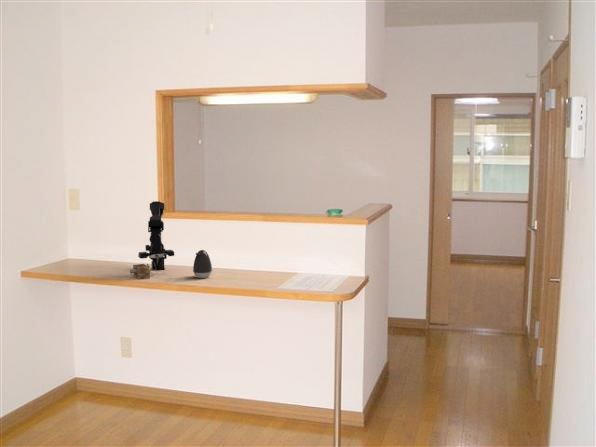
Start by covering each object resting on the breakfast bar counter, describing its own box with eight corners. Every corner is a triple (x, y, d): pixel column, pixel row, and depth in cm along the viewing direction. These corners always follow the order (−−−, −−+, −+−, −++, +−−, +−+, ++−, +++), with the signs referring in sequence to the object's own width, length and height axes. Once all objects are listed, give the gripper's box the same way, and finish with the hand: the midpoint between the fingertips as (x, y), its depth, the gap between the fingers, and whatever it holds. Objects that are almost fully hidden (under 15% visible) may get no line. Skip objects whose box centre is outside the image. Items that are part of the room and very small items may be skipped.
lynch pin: (147, 273, 340) (147, 263, 339) (150, 275, 335) (150, 265, 334) (129, 275, 335) (129, 265, 334) (131, 277, 330) (131, 266, 330)
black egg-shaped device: (189, 278, 332) (188, 250, 330) (200, 274, 341) (200, 247, 339) (204, 280, 327) (203, 252, 325) (215, 276, 336) (215, 249, 334)
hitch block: (144, 274, 342) (144, 263, 341) (149, 278, 332) (149, 267, 331) (133, 275, 339) (133, 264, 339) (138, 279, 329) (138, 268, 328)
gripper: (168, 238, 348) (169, 265, 350) (135, 240, 340) (136, 268, 342) (174, 241, 339) (174, 268, 341) (140, 243, 330) (141, 271, 332)
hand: (156, 269), depth 339 cm, fingers closed
